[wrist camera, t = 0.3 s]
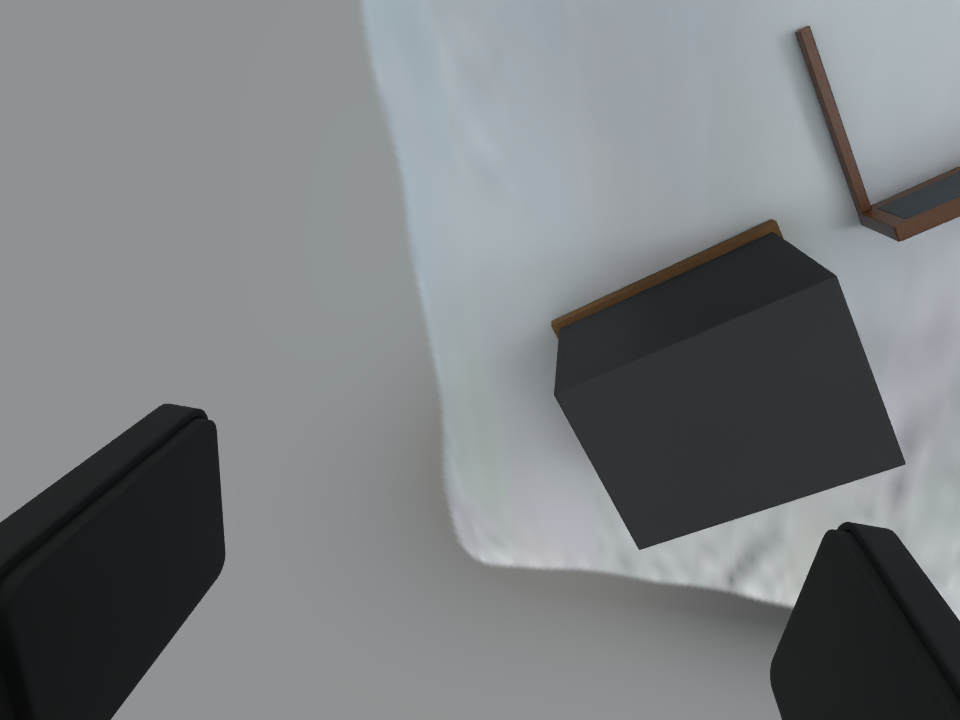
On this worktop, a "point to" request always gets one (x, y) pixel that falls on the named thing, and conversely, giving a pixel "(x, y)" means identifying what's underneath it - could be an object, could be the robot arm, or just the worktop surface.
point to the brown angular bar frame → (889, 217)
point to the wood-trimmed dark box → (722, 388)
